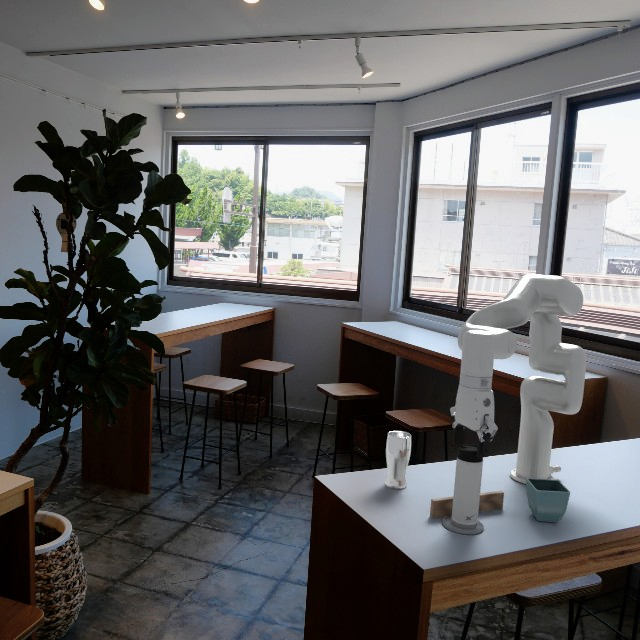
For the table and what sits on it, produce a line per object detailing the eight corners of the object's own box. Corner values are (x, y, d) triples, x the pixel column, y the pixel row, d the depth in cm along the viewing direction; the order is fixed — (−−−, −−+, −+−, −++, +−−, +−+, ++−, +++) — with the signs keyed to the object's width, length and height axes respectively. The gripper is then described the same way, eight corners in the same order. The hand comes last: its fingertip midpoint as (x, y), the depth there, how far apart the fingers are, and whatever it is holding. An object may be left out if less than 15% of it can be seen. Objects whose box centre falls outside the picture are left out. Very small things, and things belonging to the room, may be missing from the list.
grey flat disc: (467, 515, 161) (467, 513, 161) (492, 532, 152) (492, 530, 152) (434, 519, 157) (434, 517, 157) (457, 537, 148) (458, 535, 148)
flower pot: (522, 509, 167) (525, 477, 166) (555, 512, 167) (559, 479, 166) (532, 524, 158) (535, 490, 157) (567, 526, 158) (571, 492, 157)
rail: (499, 506, 168) (501, 490, 167) (502, 508, 167) (504, 492, 166) (429, 516, 159) (431, 499, 159) (432, 518, 158) (433, 500, 158)
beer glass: (379, 486, 178) (383, 434, 176) (388, 478, 184) (392, 429, 182) (403, 491, 175) (407, 439, 173) (411, 484, 181) (415, 433, 179)
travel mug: (474, 532, 150) (481, 451, 148) (447, 524, 154) (454, 445, 151) (481, 523, 156) (488, 445, 153) (455, 516, 159) (462, 439, 157)
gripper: (512, 389, 144) (505, 460, 147) (467, 373, 160) (461, 438, 162) (485, 391, 141) (479, 464, 144) (442, 374, 157) (437, 440, 159)
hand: (470, 450), depth 153 cm, fingers open, 9 cm apart
